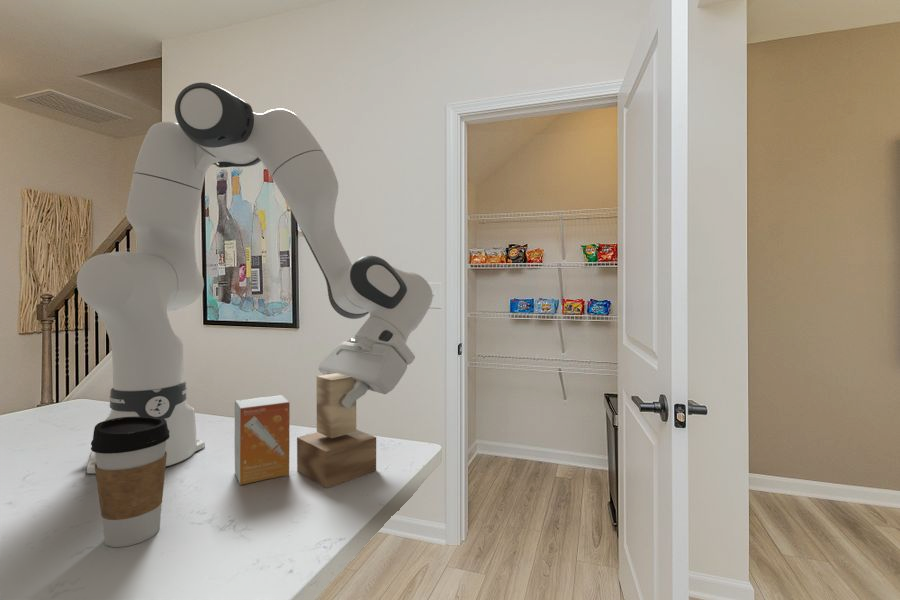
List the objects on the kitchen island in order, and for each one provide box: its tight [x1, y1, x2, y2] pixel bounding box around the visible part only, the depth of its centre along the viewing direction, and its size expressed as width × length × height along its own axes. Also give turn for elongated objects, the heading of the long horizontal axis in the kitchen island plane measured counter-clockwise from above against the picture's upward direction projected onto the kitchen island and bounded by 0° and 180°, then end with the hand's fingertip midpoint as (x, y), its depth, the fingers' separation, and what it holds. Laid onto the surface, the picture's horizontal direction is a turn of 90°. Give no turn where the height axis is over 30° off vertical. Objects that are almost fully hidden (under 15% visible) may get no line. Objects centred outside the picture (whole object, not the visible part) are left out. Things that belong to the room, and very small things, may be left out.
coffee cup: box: [90, 417, 170, 548], centre depth 58 cm, size 8×8×15 cm
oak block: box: [316, 373, 357, 438], centre depth 79 cm, size 5×5×10 cm
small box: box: [234, 394, 291, 486], centre depth 77 cm, size 8×6×13 cm
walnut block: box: [296, 429, 377, 489], centre depth 79 cm, size 10×10×6 cm
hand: (333, 402), depth 78 cm, fingers closed on oak block, 5 cm apart
